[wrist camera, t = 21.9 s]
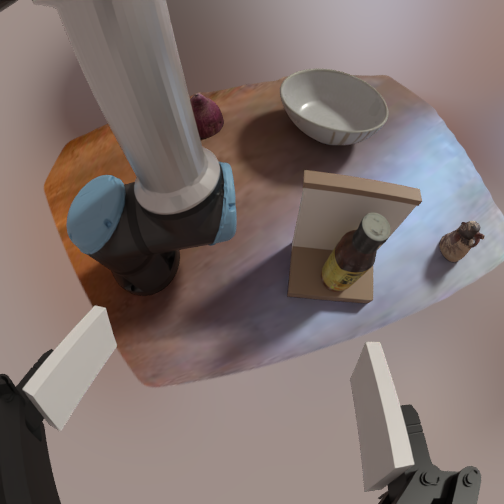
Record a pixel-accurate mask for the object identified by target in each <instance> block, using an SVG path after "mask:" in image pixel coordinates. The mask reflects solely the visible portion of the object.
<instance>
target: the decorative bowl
mask: <svg viewBox="0 0 504 504" xmlns="http://www.w3.org/2000/svg"><path fill="white" fill-rule="evenodd" d="M280 97H281V100H282V103H283V106H284V108H285V110H286V112H287V114H288V116H289V117H290V119H291V120H292V121H293V123H294V124H295V125H296V126H297V127H298V128H299V129H300V130H301V131H302V132H304V133H305V134H306V135H308V136H310V137H311V138H313V139H315V140H317V141H319V142H321V143H324V144H328V145H350V144H355V143H358V142H361V141H363V140H366V139H367V138H369V137H371V136H372V135H374V134H375V133H376V132H377V131H378V130H379V129H381V127H382V126H383V125H384V124H385V122H386V121H387V118H388V107H387V104H386V102H385V100H384V99H383V97H382V96H381V95H380V94H379V93H378V92H377V91H376V90H375V89H374V88H373V87H372V86H370V85H369V84H368V83H366V82H364V81H363V80H361V79H359V78H357V77H355V76H352V75H350V74H347V73H344V72H340V71H336V70H329V69H308V70H303V71H299V72H296V73H294V74H292V75H290V76H288V77H287V78H286V79H285V80H284V81H283V83H282V85H281V87H280Z"/></svg>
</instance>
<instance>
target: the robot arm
mask: <svg viewBox="0 0 504 504" xmlns="http://www.w3.org/2000/svg"><path fill="white" fill-rule="evenodd" d="M16 1H18V0H0V12H1V11H3V10H4V9H6V8H7V7H9V6H10V5H12V4H14V3H15V2H16ZM33 3H34V4H36V5H43V6H49V7H53V8H55V9H57V11H58V13H59V16H60V19H61V21H62V24H63V26H64V29H65V31H66V34H67V36H68V39H69V41H70V43H71V46H72V48H73V51H74V53H75V55H76V57H77V60H78V62H79V64H80V66H81V69H82V71H83V73H84V75H85V77H86V79H87V82H88V84H89V86H90V88H91V90H92V92H93V94H94V96H95V98H96V100H97V102H98V104H99V106H100V108H101V110H102V112H103V114H104V116H105V118H106V120H107V122H108V124H109V126H110V128H111V130H112V132H113V134H114V136H115V137H116V139H117V141H118V143H119V145H120V147H121V149H122V150H123V152H124V154H125V156H126V158H127V160H128V161H129V163H130V165H131V167H132V168H133V170H134V172H135V174H136V176H137V177H136V180H135V182H133V183H129V184H125V185H124V184H123V182H122V181H121V180H120V179H118V178H115V177H114V176H112V175H103V176H99V177H97V178H95V179H93V180H91V181H90V182H89V183H87V184H86V185H85V186H84V187H83V188H82V189H81V190H80V191H79V193H78V195H77V196H76V197H75V199H74V200H73V202H72V204H71V207H70V209H69V212H68V217H67V232H68V235H69V238H70V239H71V241H72V242H73V243H74V244H75V245H76V246H77V247H78V248H79V249H80V251H81V252H83V253H85V254H87V255H89V256H90V257H92V258H93V259H95V260H96V261H98V262H99V263H101V264H102V265H104V266H105V267H107V268H108V269H110V270H111V271H112V273H113V275H114V277H115V279H116V281H117V282H118V284H119V285H120V286H121V287H123V288H124V289H125V290H127V291H129V292H131V293H133V294H136V295H142V296H145V295H151V294H154V293H157V292H159V291H161V290H162V289H163V288H165V287H166V286H167V285H168V284H169V283H170V282H171V281H172V279H173V278H174V276H175V274H176V272H177V269H178V266H179V261H180V252H179V250H181V249H187V248H192V247H198V246H204V245H215V244H216V243H219V242H224V241H228V240H230V239H231V238H232V237H233V236H234V235H235V232H236V206H235V189H234V181H233V174H232V170H231V166H230V165H229V164H228V163H222V162H218V160H217V158H216V156H215V155H214V154H213V153H212V152H211V151H209V150H208V149H206V148H204V147H202V144H201V141H200V137H199V133H198V129H197V125H196V122H195V118H194V114H193V110H192V106H191V102H190V98H189V95H188V91H187V87H186V83H185V79H184V75H183V71H182V67H181V63H180V59H179V55H178V50H177V46H176V42H175V38H174V34H173V30H172V25H171V21H170V17H169V12H168V8H167V3H166V0H33ZM116 347H117V344H116V341H115V338H114V335H113V332H112V328H111V325H110V321H109V318H108V314H107V311H106V308H104V307H100V306H96V305H95V306H94V307H93V308H92V309H91V310H90V311H89V312H88V313H87V314H86V315H85V316H84V318H83V319H82V320H81V321H80V322H79V323H78V324H77V325H76V326H75V327H74V329H73V330H72V331H71V332H70V333H69V334H68V335H67V336H66V338H64V340H63V341H62V342H61V343H60V344H59V346H57V348H56V349H55V350H52V349H51V350H49V351H47V352H46V353H44V354H43V355H42V356H41V357H40V359H39V360H38V362H37V363H35V364H34V366H33V368H31V369H30V370H29V372H28V373H27V374H26V375H25V377H24V378H23V379H22V380H21V381H20V383H19V384H18V385H17V386H16V387H15V385H14V384H13V382H12V381H11V379H10V378H9V377H8V376H7V375H5V374H0V504H61V502H60V499H59V496H58V492H57V489H56V485H55V481H54V477H53V473H52V468H51V464H50V459H49V454H48V448H47V442H46V435H45V429H44V424H43V422H42V421H43V419H45V420H46V421H47V422H48V424H49V425H51V426H52V427H54V428H56V429H57V430H59V431H61V430H62V429H63V427H64V426H65V424H66V422H67V421H68V419H69V418H70V416H71V414H72V413H73V411H74V410H75V408H76V406H77V405H78V403H79V402H80V400H81V399H82V397H83V396H84V394H85V392H86V391H87V389H88V388H89V386H90V385H91V383H92V382H93V380H94V379H95V377H96V376H97V374H98V373H99V371H100V370H101V368H102V367H103V365H104V364H105V363H106V361H107V360H108V358H109V357H110V355H111V354H112V352H113V351H114V350H115V348H116ZM350 382H351V387H352V394H353V400H354V406H355V413H356V419H357V426H358V434H359V442H360V450H361V459H362V469H363V480H364V491H365V492H367V491H374V490H380V489H383V488H384V487H385V486H386V485H388V491H387V492H385V493H384V494H382V495H381V496H380V497H379V499H381V498H382V499H381V501H380V502H379V503H378V504H477V500H478V495H479V490H480V483H481V474H480V472H479V470H478V469H477V468H476V467H473V466H468V467H465V468H464V469H462V470H461V471H460V472H450V471H449V472H448V471H441V470H440V469H439V468H438V467H437V466H435V465H433V464H432V462H431V460H430V456H429V452H428V448H427V444H426V440H425V437H424V433H423V429H422V426H421V425H420V423H421V422H420V419H419V416H418V413H417V412H416V410H415V409H414V408H413V406H412V405H402V406H400V404H399V400H398V397H397V393H396V390H395V386H394V383H393V380H392V377H391V374H390V370H389V368H388V364H387V362H386V358H385V355H384V352H383V350H382V347H381V344H380V342H365V345H364V347H363V350H362V353H361V355H360V358H359V360H358V363H357V365H356V367H355V369H354V372H353V374H352V376H351V378H350Z"/></svg>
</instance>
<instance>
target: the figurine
mask: <svg viewBox="0 0 504 504" xmlns="http://www.w3.org/2000/svg"><path fill="white" fill-rule="evenodd" d="M479 230H480V225H479V224H478V223H477V222H476V221H469V222H467V223H465V222H462V223H461V226H460V227H459V228H458V229H457V230H455V231H453V232H451V233H448V234H446V235H445V236H443V237H442V239H441V242H440V250H441V252H442V254H443V256H444V257H445V258H446V259H447V260H449V261H451V262H457V261H459V260H460V259H462V258H463V257H464V256H465V255H466V254H467V253H468V252H469V250H470V249H471V248H472V247H475V246H476V245H477V244H478V243H479V241H480V239H484V235H483V234H481V233H479ZM474 241H475V243H474V244H473V242H474Z"/></svg>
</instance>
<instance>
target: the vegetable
mask: <svg viewBox="0 0 504 504" xmlns="http://www.w3.org/2000/svg"><path fill="white" fill-rule="evenodd" d="M190 102H191V106H192V110H193V114H194V118H195V122H196V125H197V129H198V133H199V137H200V138H209V137H211V136H213V135H215V134H216V133H218V132H219V131H220V130H221V128H222V127H223V124H224V121H223V116H222V113H221V111H220V109H219V107H218V106H217V105H216V103H214V102H213V101H212V100H210V99H209V98H207V97H204V96H203V95H201V94H199V93H197V94H194V96H193V97H192V98H191V99H190Z"/></svg>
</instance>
